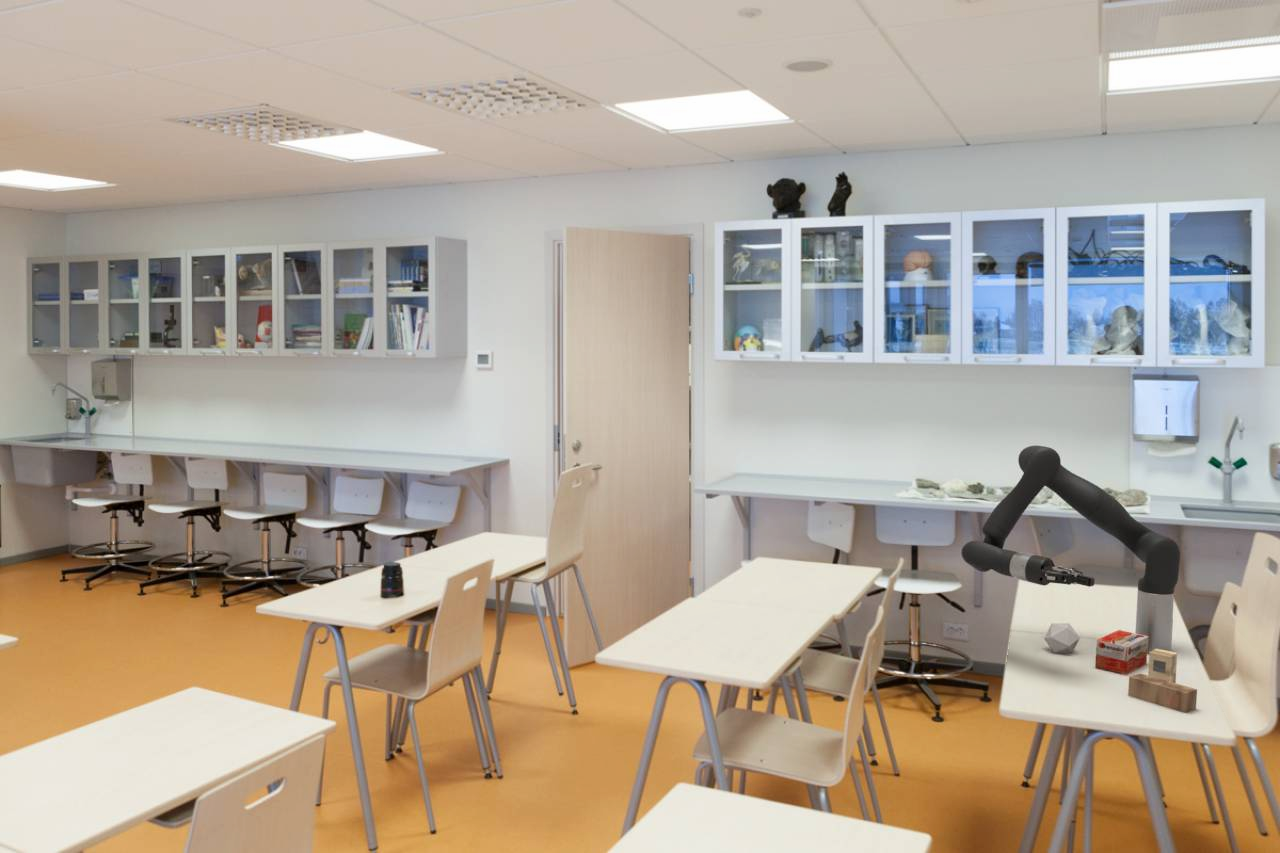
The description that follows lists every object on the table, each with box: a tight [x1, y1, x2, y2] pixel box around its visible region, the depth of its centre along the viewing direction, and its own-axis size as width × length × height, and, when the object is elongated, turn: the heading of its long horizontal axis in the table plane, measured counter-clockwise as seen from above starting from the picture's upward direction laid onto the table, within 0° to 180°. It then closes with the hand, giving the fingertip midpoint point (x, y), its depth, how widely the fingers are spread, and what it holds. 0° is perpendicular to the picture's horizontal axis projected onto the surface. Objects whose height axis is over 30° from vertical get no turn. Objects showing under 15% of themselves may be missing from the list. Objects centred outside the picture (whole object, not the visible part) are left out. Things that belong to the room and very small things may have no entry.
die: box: [1043, 622, 1081, 654], centre depth 289 cm, size 8×9×10 cm
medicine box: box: [1095, 629, 1148, 676], centre depth 277 cm, size 15×8×8 cm, turn 134°
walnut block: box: [1127, 672, 1198, 714], centre depth 248 cm, size 5×5×14 cm
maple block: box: [1147, 649, 1178, 684], centre depth 259 cm, size 5×5×9 cm
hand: (1092, 582), depth 263 cm, fingers closed
